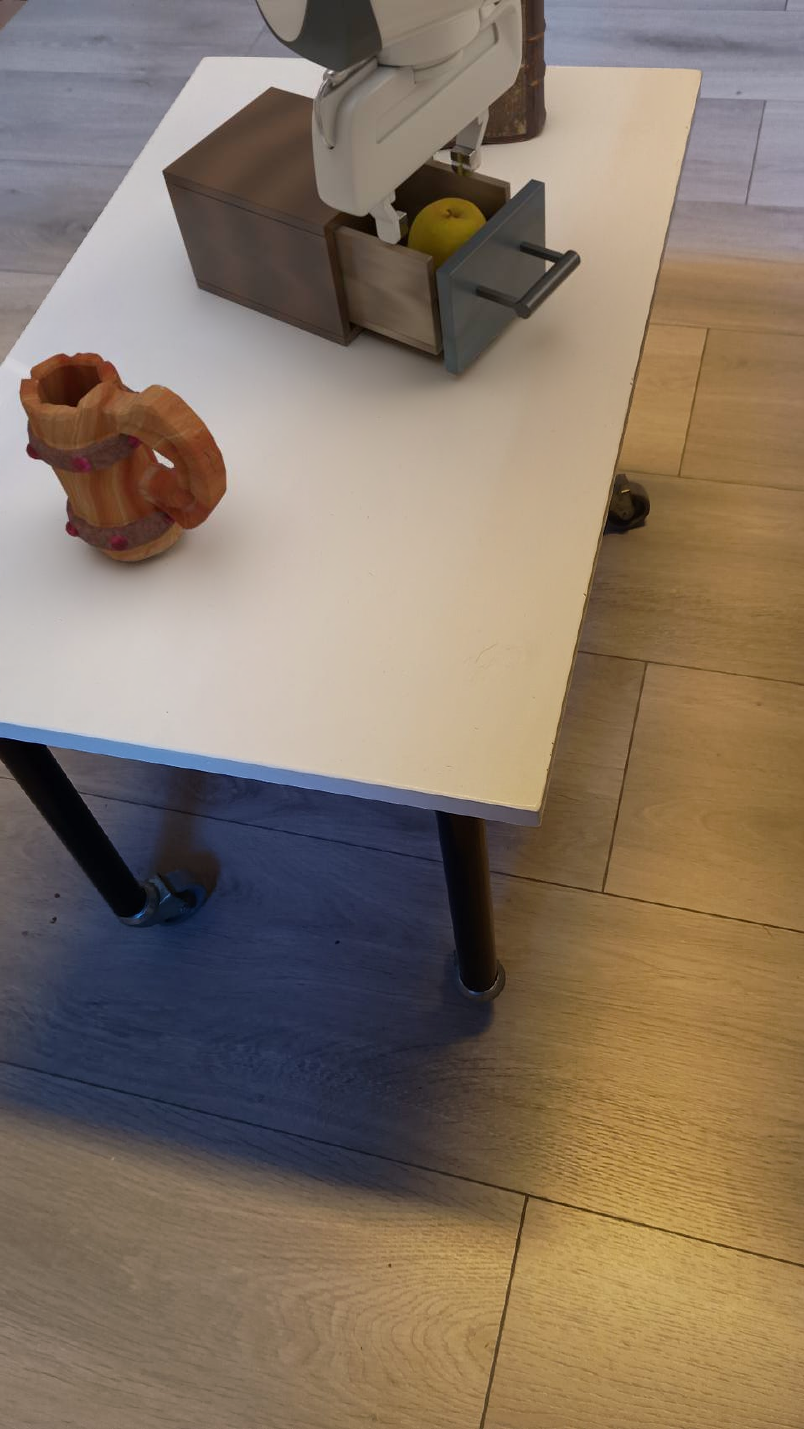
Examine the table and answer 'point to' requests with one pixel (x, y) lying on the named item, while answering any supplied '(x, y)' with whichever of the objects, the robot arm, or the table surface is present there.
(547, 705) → the table surface
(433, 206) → the apple
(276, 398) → the table surface
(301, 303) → the cabinet
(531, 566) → the table surface
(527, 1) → the book
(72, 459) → the mug
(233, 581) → the table surface
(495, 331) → the drawer
